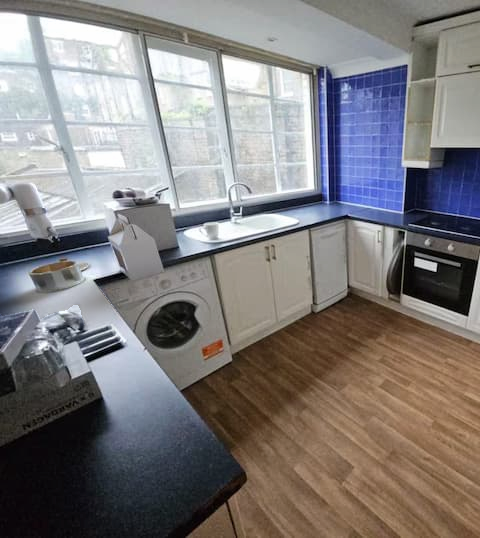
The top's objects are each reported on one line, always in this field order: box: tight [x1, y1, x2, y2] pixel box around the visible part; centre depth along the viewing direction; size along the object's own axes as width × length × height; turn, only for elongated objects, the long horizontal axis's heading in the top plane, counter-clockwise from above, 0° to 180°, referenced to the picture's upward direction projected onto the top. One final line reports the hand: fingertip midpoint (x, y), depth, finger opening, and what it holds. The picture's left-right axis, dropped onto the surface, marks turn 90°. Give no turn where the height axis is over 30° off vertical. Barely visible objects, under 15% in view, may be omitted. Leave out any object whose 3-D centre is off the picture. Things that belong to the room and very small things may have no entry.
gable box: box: [107, 213, 165, 282], centre depth 140 cm, size 22×13×28 cm, turn 49°
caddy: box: [28, 260, 85, 293], centre depth 132 cm, size 16×16×8 cm
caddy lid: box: [58, 257, 90, 271], centre depth 148 cm, size 17×17×7 cm
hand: (51, 248), depth 135 cm, fingers open, 9 cm apart
